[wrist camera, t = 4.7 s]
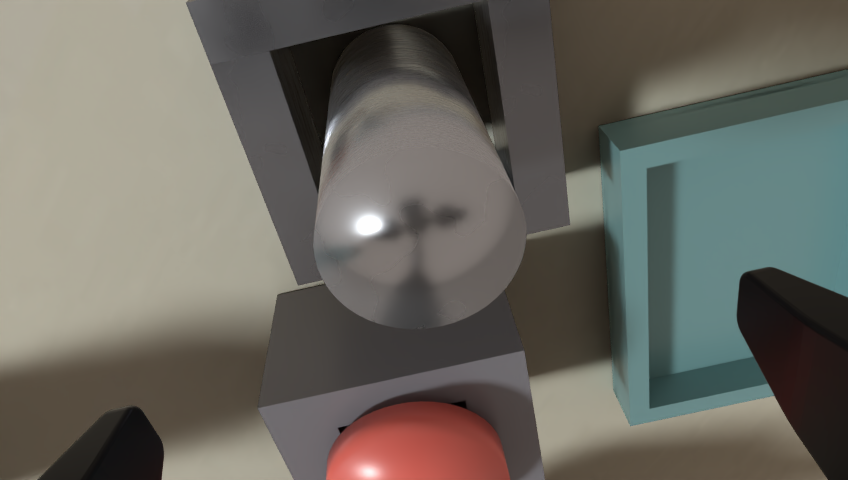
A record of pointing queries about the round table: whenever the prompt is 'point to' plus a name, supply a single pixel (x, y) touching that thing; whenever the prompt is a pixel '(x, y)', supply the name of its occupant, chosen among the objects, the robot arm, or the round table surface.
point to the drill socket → (294, 127)
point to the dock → (390, 377)
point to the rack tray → (716, 234)
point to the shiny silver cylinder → (411, 187)
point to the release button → (418, 446)
